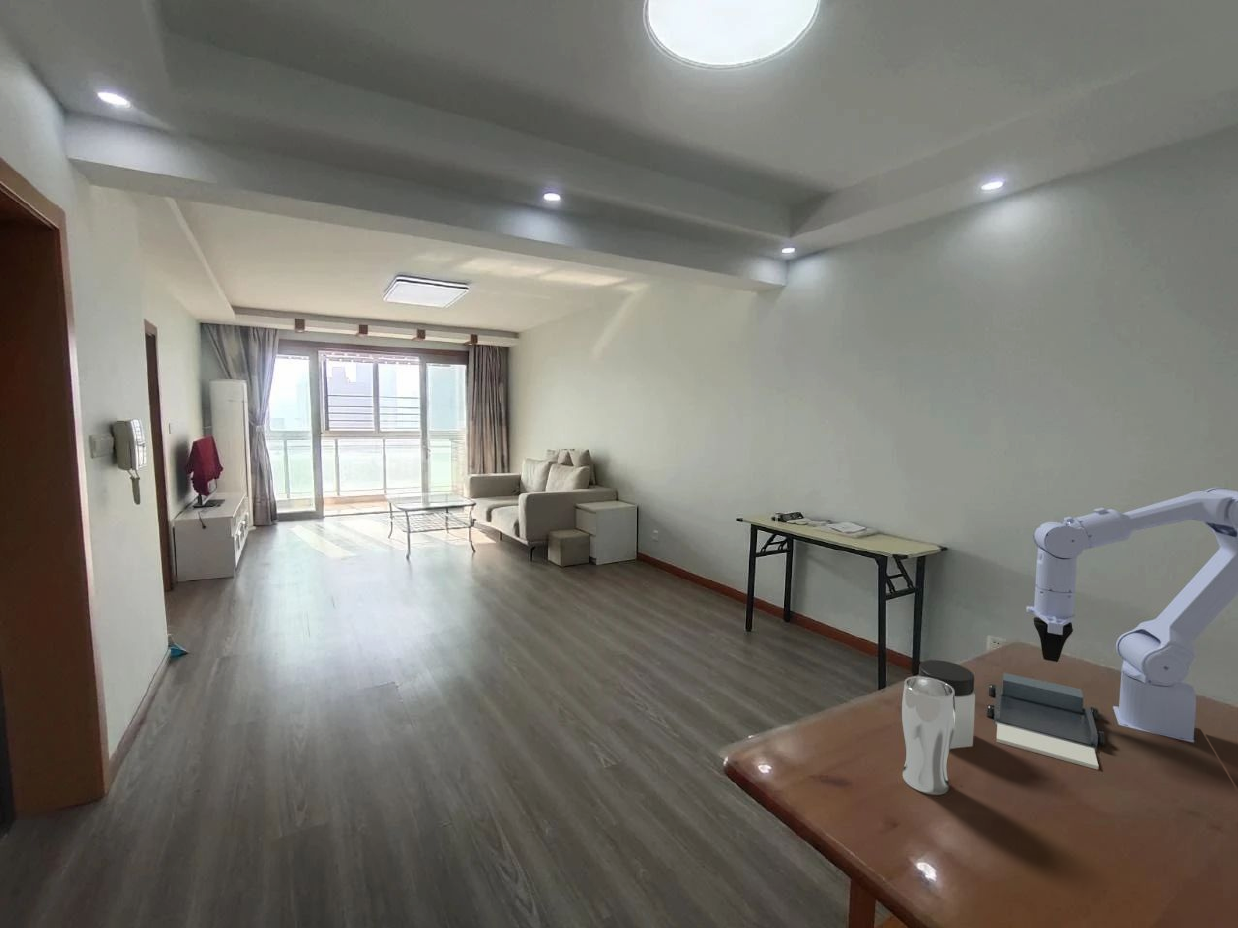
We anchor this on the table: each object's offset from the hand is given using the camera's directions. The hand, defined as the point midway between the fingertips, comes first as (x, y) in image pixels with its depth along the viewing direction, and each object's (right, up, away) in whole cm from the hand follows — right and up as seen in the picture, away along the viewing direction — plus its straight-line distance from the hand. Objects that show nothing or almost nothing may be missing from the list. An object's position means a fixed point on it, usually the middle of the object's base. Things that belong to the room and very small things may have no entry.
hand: (1050, 659), depth 103 cm
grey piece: (-3, -10, -2) cm, 11 cm away
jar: (-24, -11, -8) cm, 28 cm away
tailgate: (-8, -10, -9) cm, 15 cm away
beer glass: (-34, -12, -19) cm, 41 cm away
